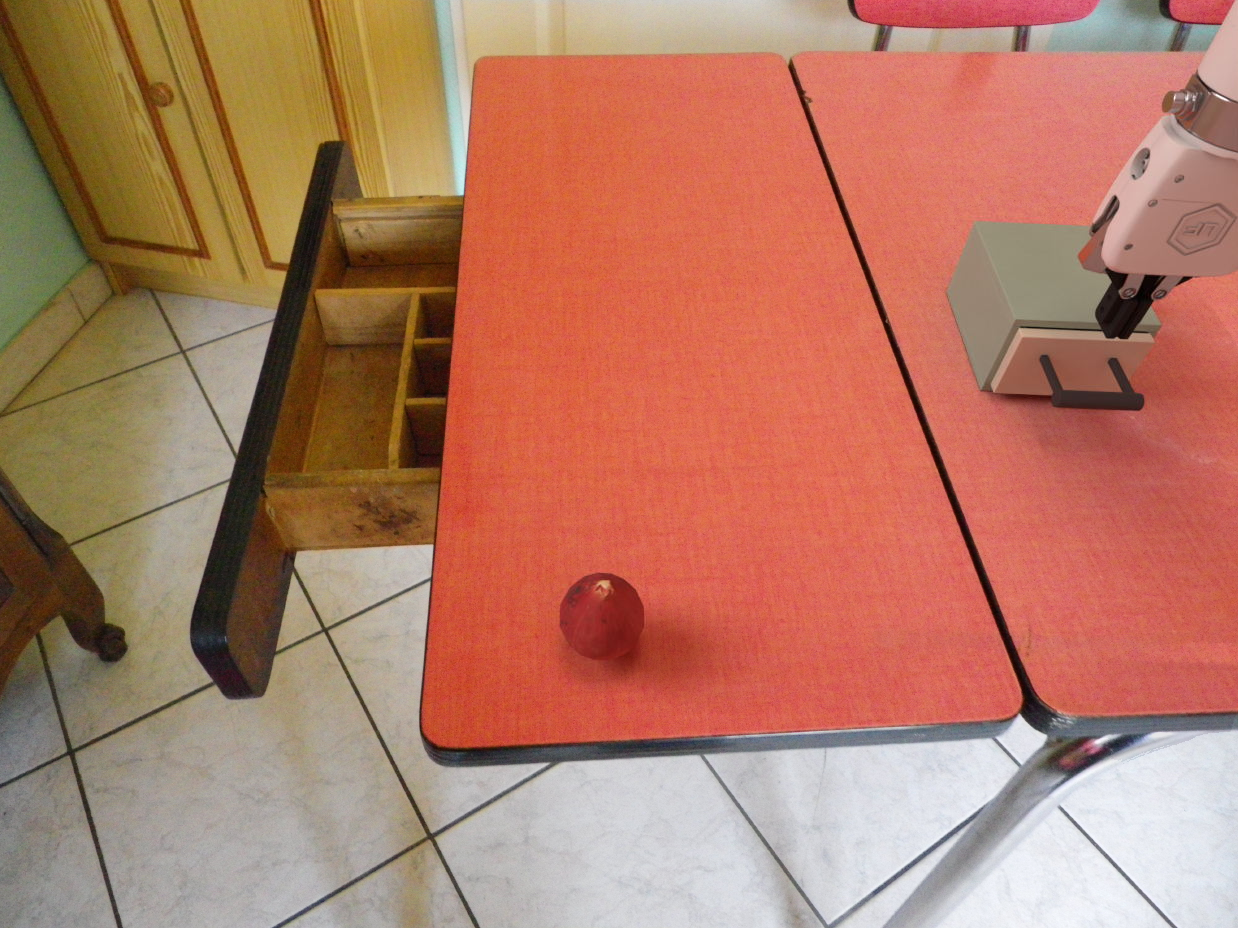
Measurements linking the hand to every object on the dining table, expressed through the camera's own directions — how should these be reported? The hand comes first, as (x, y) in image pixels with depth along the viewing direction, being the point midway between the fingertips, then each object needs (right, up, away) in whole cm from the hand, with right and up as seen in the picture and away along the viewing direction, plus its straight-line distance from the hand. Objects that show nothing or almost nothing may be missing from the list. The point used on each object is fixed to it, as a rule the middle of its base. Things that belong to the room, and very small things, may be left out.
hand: (1110, 327), depth 69 cm
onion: (-41, -24, -8) cm, 49 cm away
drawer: (0, -2, +11) cm, 11 cm away
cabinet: (0, +1, +14) cm, 14 cm away
